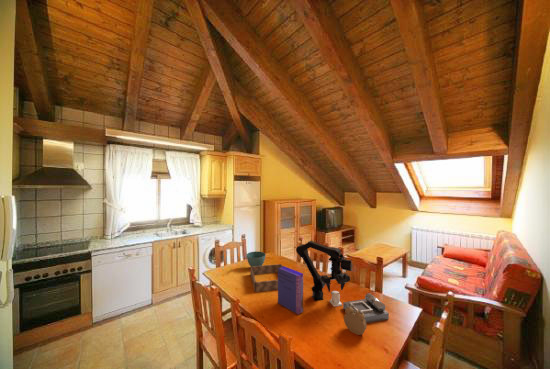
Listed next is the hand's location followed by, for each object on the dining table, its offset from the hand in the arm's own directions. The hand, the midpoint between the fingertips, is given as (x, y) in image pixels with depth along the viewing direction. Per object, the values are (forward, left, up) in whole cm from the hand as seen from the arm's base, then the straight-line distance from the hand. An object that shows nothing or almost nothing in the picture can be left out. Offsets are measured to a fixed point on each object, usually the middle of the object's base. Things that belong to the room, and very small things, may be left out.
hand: (335, 290), depth 138 cm
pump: (0, 0, -9) cm, 9 cm away
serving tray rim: (-37, +41, -9) cm, 56 cm away
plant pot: (-44, +71, -9) cm, 84 cm away
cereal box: (-31, +3, -9) cm, 32 cm away
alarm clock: (-4, -27, -9) cm, 29 cm away
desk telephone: (+12, -14, -9) cm, 20 cm away
